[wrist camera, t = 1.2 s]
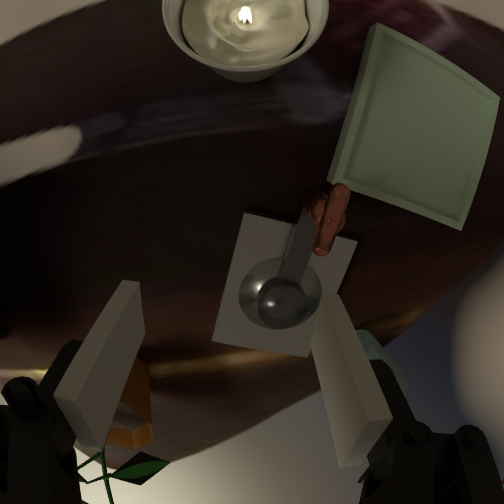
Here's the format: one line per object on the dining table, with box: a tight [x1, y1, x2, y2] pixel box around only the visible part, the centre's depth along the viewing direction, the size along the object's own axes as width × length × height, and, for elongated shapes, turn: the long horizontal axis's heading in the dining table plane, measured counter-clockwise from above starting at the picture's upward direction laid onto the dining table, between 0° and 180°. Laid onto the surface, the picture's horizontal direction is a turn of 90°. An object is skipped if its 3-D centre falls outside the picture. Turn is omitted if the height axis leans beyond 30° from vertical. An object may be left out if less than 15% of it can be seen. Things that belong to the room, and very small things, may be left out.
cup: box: [355, 329, 408, 396], centre depth 36 cm, size 8×8×10 cm
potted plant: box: [77, 356, 171, 504], centre depth 26 cm, size 18×19×30 cm
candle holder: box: [162, 0, 329, 83], centre depth 19 cm, size 10×10×12 cm
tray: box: [326, 22, 500, 231], centre depth 27 cm, size 17×17×2 cm
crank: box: [257, 183, 350, 329], centre depth 28 cm, size 16×5×7 cm, turn 165°
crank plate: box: [212, 209, 357, 357], centre depth 34 cm, size 12×16×1 cm
